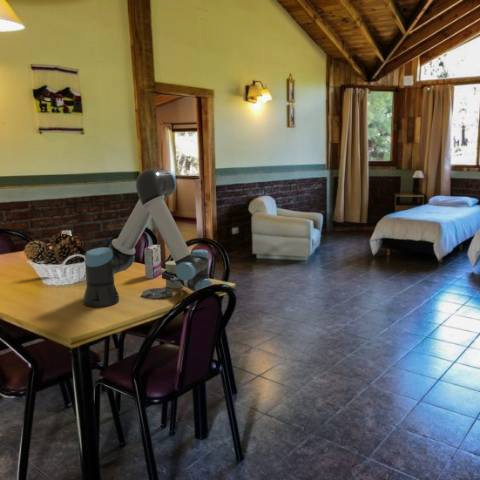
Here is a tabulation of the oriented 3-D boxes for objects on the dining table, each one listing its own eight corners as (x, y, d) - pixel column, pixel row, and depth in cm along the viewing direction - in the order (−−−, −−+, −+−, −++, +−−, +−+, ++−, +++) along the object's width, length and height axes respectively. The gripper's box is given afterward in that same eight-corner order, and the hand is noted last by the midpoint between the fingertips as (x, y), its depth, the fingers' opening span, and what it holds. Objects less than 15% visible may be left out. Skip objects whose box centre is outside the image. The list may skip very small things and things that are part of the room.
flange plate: (152, 300, 208) (152, 297, 208) (136, 294, 218) (136, 291, 218) (178, 294, 217) (178, 292, 217) (162, 288, 227) (162, 286, 227)
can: (186, 283, 234) (185, 260, 232) (182, 288, 225) (181, 264, 223) (168, 282, 235) (167, 259, 233) (163, 287, 226) (162, 263, 224)
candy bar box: (153, 273, 258) (152, 244, 256) (161, 274, 257) (160, 244, 255) (144, 278, 248) (143, 248, 245) (153, 279, 247) (152, 248, 244)
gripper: (168, 291, 209) (150, 280, 228) (211, 285, 220) (190, 275, 239) (168, 275, 207) (150, 265, 226) (211, 269, 218) (190, 260, 237)
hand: (171, 270), depth 232 cm, fingers closed on can, 9 cm apart
